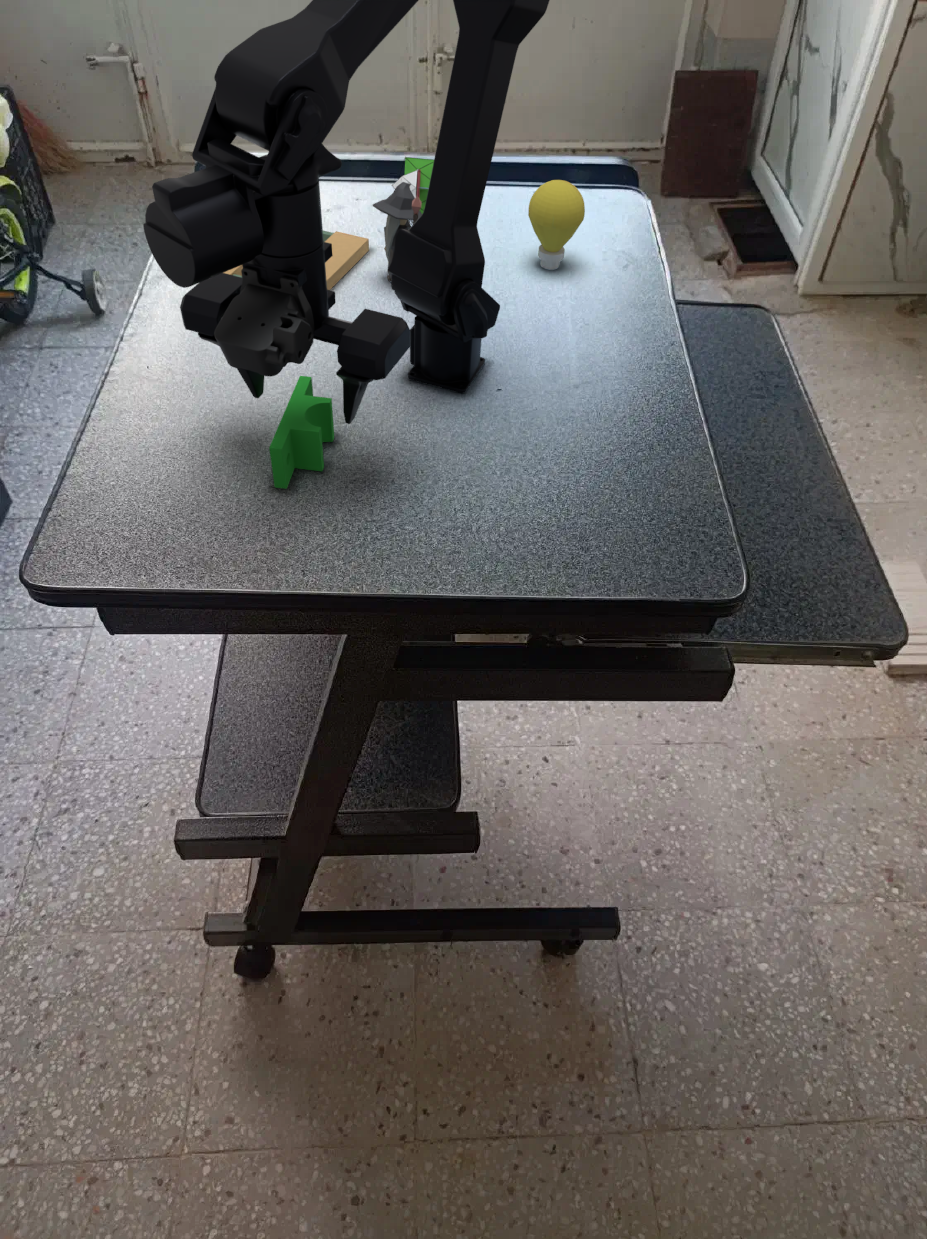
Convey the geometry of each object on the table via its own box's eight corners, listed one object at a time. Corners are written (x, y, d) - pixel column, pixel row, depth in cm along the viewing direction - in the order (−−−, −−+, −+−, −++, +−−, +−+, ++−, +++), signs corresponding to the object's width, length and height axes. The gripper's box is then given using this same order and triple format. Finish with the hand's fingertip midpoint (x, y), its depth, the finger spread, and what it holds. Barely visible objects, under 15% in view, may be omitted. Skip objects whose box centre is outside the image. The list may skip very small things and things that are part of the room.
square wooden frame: (369, 250, 111) (368, 238, 110) (313, 307, 102) (312, 295, 101) (262, 225, 114) (260, 213, 113) (198, 278, 105) (196, 266, 104)
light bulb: (538, 246, 114) (547, 165, 106) (585, 262, 112) (598, 179, 104) (513, 267, 110) (520, 184, 103) (561, 284, 108) (573, 200, 100)
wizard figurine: (366, 278, 107) (362, 174, 98) (401, 263, 109) (400, 160, 100) (413, 305, 103) (414, 200, 94) (448, 289, 106) (452, 186, 97)
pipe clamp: (315, 493, 81) (311, 453, 78) (274, 488, 81) (268, 448, 78) (341, 418, 88) (338, 378, 85) (303, 414, 89) (299, 374, 85)
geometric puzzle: (399, 176, 121) (393, 140, 113) (450, 180, 121) (447, 144, 113) (393, 227, 120) (387, 194, 112) (444, 231, 120) (441, 199, 112)
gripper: (121, 259, 66) (164, 432, 78) (349, 318, 62) (359, 489, 74) (202, 199, 73) (231, 366, 85) (413, 248, 69) (412, 415, 81)
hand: (303, 408), depth 81 cm, fingers open, 9 cm apart
